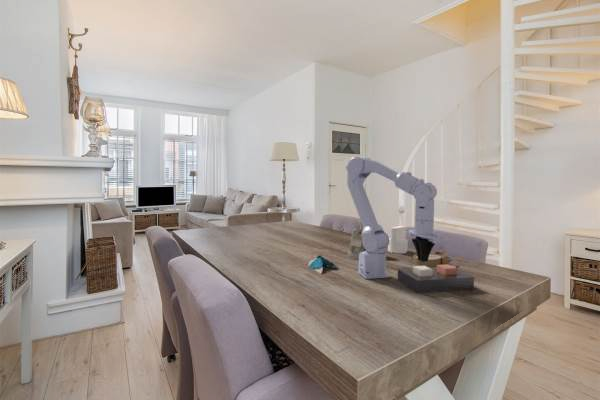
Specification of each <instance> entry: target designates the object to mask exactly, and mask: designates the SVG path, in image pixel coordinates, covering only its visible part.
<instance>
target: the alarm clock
mask: <svg viewBox="0 0 600 400" xmlns="http://www.w3.org/2000/svg"><path fill="white" fill-rule="evenodd" d="M411 259H412V260H413V263H414V264H415V266H426V267H429V268H430V267H437V265H446V264H448V265H449V263H450V262H452V260H453V259H452V257H451V256H449V255H448V256H447V255H445V254H443V253H442V252H441V251H436V252H433V253H432V252H430V255H429V258H428V261H426V262H422V261H421V260H418V257H417V253H415V254H414V255H413V257H411Z"/></svg>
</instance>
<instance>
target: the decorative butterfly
mask: <svg viewBox="0 0 600 400" xmlns="http://www.w3.org/2000/svg"><path fill="white" fill-rule="evenodd" d="M325 256H328V255H325ZM313 258H314V259H311V260H310V261H309V263H308V268H310V269H311V270H314V271H316V272H317V273H319V274H322V273H323V266H325V267H329V268H335V269H339V268H340V267H338V266H337V265H336V264H334V263H333V262H331V261H330V260H328V259H326V258H325V257H324V256H323V255H313Z"/></svg>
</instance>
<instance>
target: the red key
mask: <svg viewBox="0 0 600 400" xmlns="http://www.w3.org/2000/svg"><path fill="white" fill-rule="evenodd" d="M457 270H458V267H456V266H453V265H451V264H449V263H448V264H446V265H437V272H439V273H441V274H443V275H455V274H457Z"/></svg>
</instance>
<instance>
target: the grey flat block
mask: <svg viewBox="0 0 600 400" xmlns="http://www.w3.org/2000/svg"><path fill="white" fill-rule="evenodd" d="M429 268H431V269H433V274H432V276H423V277H419V276H418V275H416V274H414V273H413V267H412V268H399V269H397V281H398V282H399V283H401V284H402V285H404V286H405V287H407V288H408V289H409V290H411V291H413V292H414V293H416V294H424V293H425V294H426V293H427V294H428V293H439V292H453V291H454V292H455V291H469V290H474V287H475V285H474V284H475V283H474V282H475V276H473V275H471V274H469V273H466V272H463V271H461V270H458V269H457V274H455V275H443V274H441V273H439V272H437V267H429Z"/></svg>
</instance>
